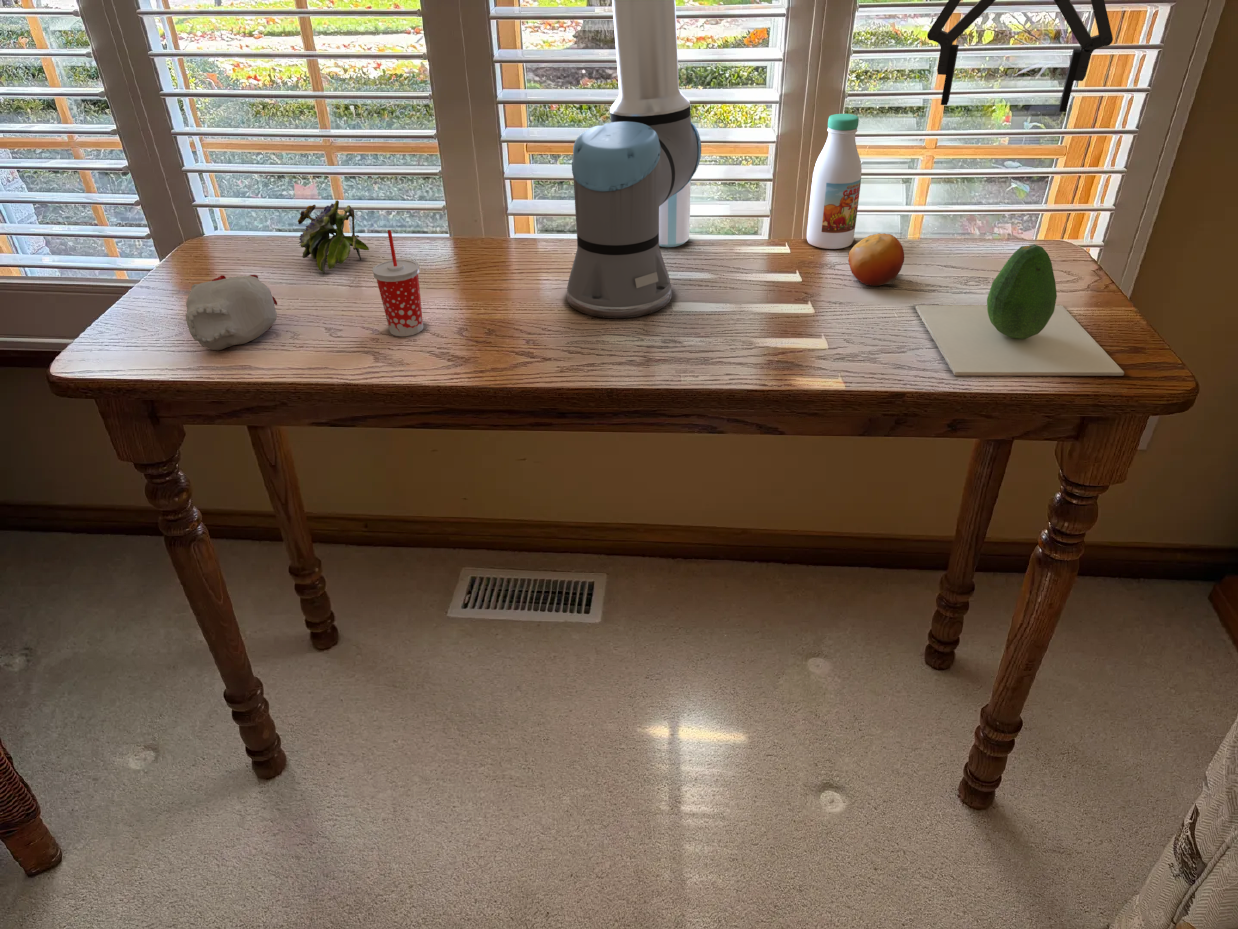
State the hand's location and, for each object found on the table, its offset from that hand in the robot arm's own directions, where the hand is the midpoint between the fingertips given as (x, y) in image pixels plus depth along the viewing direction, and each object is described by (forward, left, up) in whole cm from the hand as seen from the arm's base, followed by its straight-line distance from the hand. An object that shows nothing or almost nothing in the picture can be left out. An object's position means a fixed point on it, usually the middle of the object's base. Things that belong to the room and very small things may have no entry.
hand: (1002, 106), depth 107 cm
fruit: (-13, -6, -27) cm, 30 cm away
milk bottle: (-30, -4, -27) cm, 40 cm away
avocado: (+11, 0, -26) cm, 28 cm away
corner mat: (+11, 0, -27) cm, 29 cm away
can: (-40, -29, -27) cm, 56 cm away
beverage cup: (-20, -75, -27) cm, 82 cm away
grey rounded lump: (-26, -97, -27) cm, 104 cm away
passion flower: (-51, -83, -27) cm, 101 cm away
